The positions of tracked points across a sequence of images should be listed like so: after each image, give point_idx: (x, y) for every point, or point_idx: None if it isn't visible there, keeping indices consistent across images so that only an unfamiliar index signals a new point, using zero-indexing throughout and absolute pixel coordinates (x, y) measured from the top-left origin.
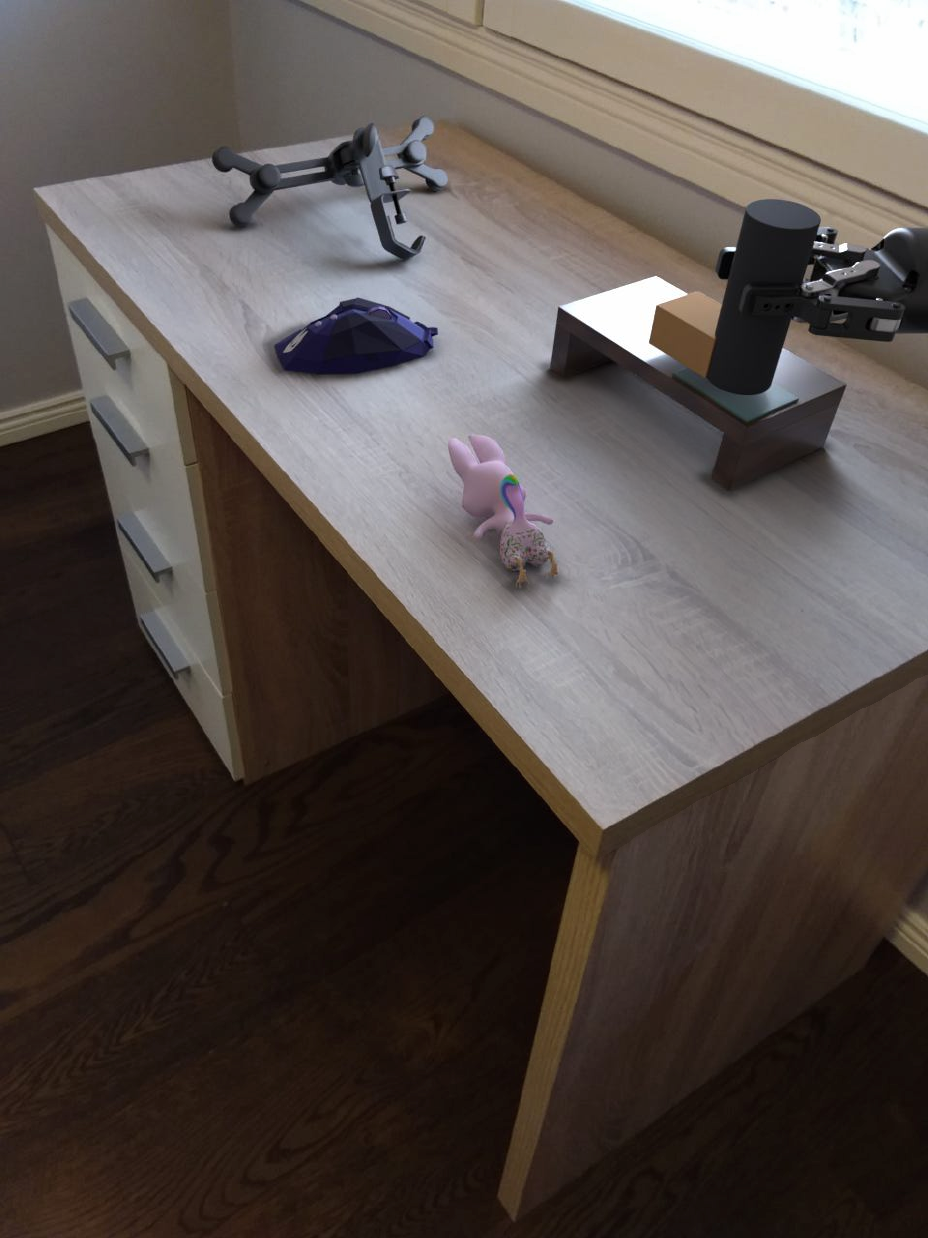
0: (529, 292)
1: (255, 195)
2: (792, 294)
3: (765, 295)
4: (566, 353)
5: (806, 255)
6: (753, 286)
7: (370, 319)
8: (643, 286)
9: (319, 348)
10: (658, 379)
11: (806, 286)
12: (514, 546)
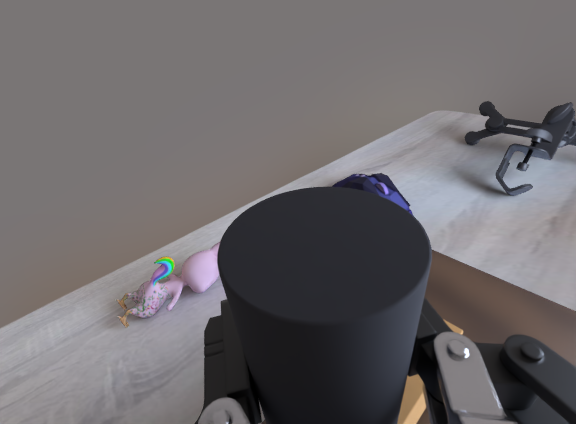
0: (548, 263)
1: (485, 131)
2: (223, 390)
3: (214, 332)
4: None
5: (260, 361)
6: (226, 303)
7: (365, 184)
8: (557, 313)
9: (342, 184)
10: None
11: (220, 411)
12: (138, 289)
